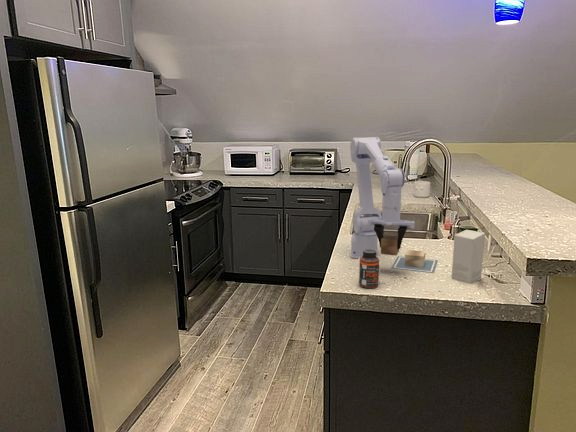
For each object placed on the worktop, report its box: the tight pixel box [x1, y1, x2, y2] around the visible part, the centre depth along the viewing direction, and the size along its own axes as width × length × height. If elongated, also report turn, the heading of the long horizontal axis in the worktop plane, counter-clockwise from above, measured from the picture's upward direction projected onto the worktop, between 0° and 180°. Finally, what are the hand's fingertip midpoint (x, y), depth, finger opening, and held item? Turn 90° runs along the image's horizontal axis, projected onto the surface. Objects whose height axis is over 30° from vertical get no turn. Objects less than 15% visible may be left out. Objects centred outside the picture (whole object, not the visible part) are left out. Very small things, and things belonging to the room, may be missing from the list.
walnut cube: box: [380, 234, 400, 257], centre depth 146 cm, size 5×5×5 cm
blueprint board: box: [390, 255, 439, 274], centre depth 155 cm, size 14×14×1 cm
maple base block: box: [404, 249, 426, 268], centre depth 154 cm, size 6×6×4 cm
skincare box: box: [451, 229, 486, 284], centre depth 140 cm, size 8×7×16 cm
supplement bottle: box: [358, 249, 380, 289], centre depth 138 cm, size 6×6×11 cm
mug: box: [410, 180, 431, 199], centre depth 280 cm, size 12×10×9 cm
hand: (390, 247), depth 146 cm, fingers closed on walnut cube, 5 cm apart
